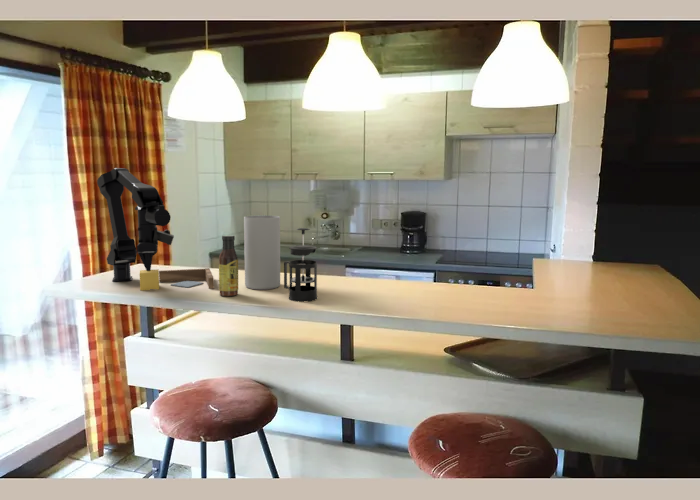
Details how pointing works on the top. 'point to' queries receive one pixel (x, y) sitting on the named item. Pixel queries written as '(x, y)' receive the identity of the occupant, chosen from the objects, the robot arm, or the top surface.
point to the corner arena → (187, 276)
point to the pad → (187, 284)
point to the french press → (300, 291)
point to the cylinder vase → (262, 252)
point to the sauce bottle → (228, 267)
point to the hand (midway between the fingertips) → (149, 268)
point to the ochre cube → (149, 279)
